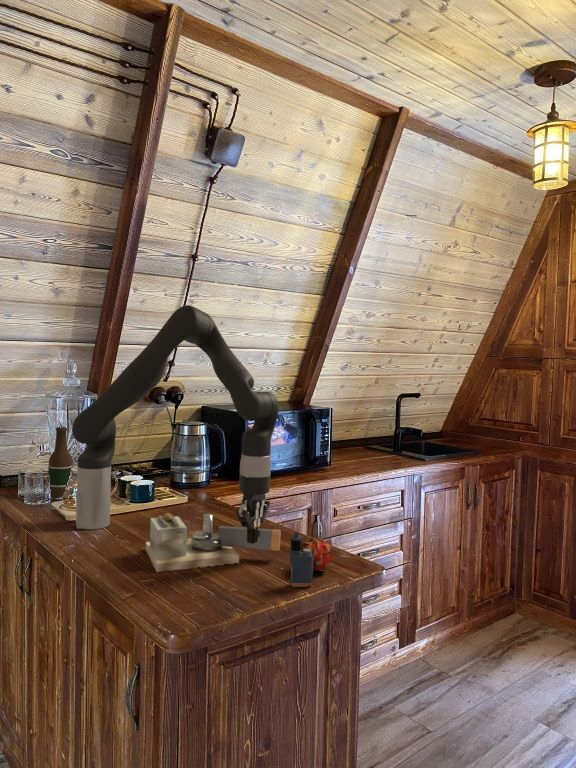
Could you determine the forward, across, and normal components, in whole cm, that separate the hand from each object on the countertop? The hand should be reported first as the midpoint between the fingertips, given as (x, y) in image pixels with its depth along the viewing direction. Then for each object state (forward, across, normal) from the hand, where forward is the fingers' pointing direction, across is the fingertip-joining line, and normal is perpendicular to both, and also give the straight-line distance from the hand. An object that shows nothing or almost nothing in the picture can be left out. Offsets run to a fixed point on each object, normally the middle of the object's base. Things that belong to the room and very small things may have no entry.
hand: (251, 542), depth 145 cm
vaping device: (+5, +6, +17) cm, 18 cm away
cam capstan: (+3, -1, -5) cm, 6 cm away
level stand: (+5, +5, -15) cm, 16 cm away
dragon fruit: (+5, -4, +15) cm, 17 cm away
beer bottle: (+5, -16, -86) cm, 87 cm away
